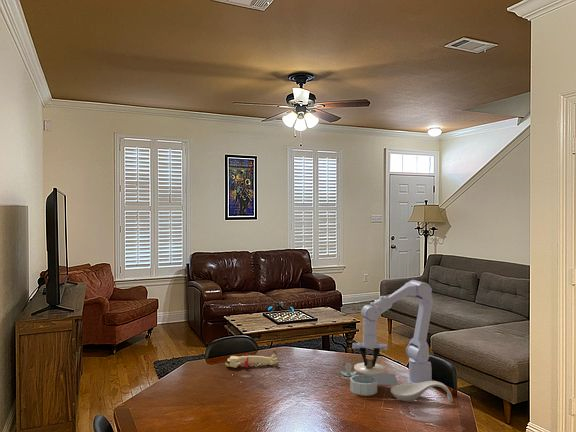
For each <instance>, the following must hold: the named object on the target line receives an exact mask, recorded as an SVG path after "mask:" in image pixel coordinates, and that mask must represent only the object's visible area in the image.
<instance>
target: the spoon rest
mask: <svg viewBox="0 0 576 432" xmlns="http://www.w3.org/2000/svg"><path fill="white" fill-rule="evenodd" d="M432 387H439V388H441V389H443V390H444V391H445V392H446V394H447V395H446V397H447V399H448V401H449V403H453V399H454V398H453V394H452V392H451V391H450V390H449V387H448V386H447V385H445V384H444V383H443V382H440V381H437V380H432V381H426V382H421V383H413V384H410V383H401V384H398V385H392V387H391V388H390V393H391V394H392V396H393V397H394V398H395V399H397V400H399V401H401V402H407V403H410V402H411V403H412V402H415V401H416V400H417V399H418V398H419V397H421V396H422V394H424V392H426V391H427V390H428V389H431V388H432Z"/></svg>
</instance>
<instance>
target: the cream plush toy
mask: <svg viewBox="0 0 576 432" xmlns="http://www.w3.org/2000/svg"><path fill="white" fill-rule="evenodd" d="M271 352H272V355H271V356H264V355H248V353H246V354H245V355H241V356H238V355H230V356H229V358H227V359H226V362H225V363H224V365H226V367H228V368H233V369H235V368H238V367H239V366H240V365H243V364H244V367H245V368H246V369H248V368H249V364H261V365H268V366H275V367H278V360H277V359H278V358H277V355H278V351H276V349H272V350H271Z"/></svg>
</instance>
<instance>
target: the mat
mask: <svg viewBox="0 0 576 432" xmlns="http://www.w3.org/2000/svg"><path fill="white" fill-rule="evenodd" d="M363 375H370V376H373V377H375V378H377V386H396V385H399V382H398V380H397V376H396V374H395V373H380V374H364V373H363Z"/></svg>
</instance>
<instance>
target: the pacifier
mask: <svg viewBox="0 0 576 432" xmlns="http://www.w3.org/2000/svg"><path fill="white" fill-rule="evenodd" d="M352 365H353V364H351V362H346V363H345V366H344V367H345V368H344V369H345V371H342V370H340V371H339V372H340V374H341V378H343V379H348V380H350V377H352V376H354V375H357V373H358V372H357V371H356V370H354V371H352V369H353V368H352V367H353V366H352Z"/></svg>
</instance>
